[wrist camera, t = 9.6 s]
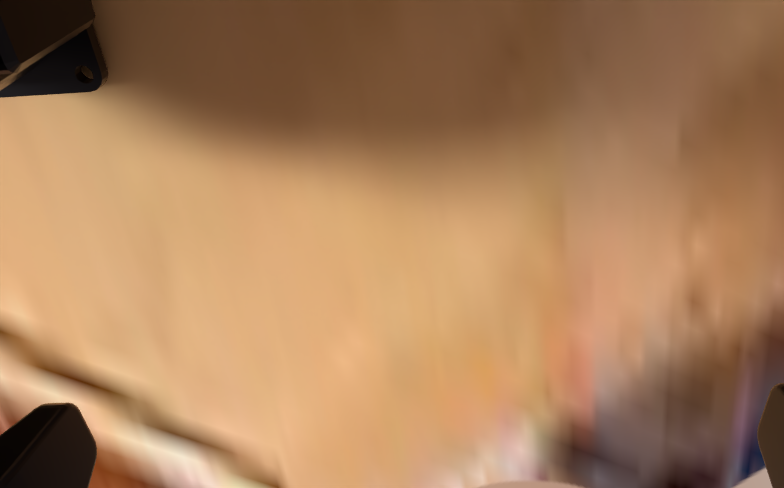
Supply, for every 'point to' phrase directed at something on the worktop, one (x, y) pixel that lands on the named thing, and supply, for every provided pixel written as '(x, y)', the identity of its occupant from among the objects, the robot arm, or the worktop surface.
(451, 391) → the worktop surface
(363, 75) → the worktop surface
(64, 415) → the robot arm
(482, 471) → the worktop surface
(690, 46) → the worktop surface
